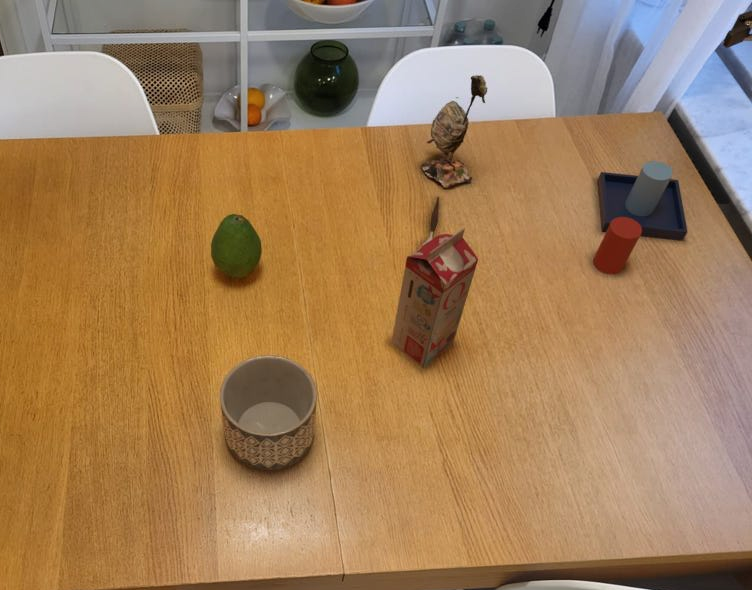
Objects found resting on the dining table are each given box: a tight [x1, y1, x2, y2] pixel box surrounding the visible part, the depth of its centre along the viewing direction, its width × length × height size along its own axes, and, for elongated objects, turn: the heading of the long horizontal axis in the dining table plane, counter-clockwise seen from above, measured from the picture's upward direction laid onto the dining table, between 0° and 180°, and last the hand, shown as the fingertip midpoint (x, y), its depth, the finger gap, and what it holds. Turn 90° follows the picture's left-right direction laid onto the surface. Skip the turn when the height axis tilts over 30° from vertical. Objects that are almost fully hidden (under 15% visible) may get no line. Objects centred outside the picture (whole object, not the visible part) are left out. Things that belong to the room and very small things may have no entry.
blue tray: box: [596, 171, 688, 241], centre depth 130 cm, size 13×13×2 cm
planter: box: [219, 354, 318, 471], centre depth 102 cm, size 13×13×10 cm
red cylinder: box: [592, 217, 642, 275], centre depth 121 cm, size 5×5×8 cm
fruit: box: [210, 213, 263, 279], centre depth 119 cm, size 8×8×12 cm
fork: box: [420, 196, 440, 247], centre depth 128 cm, size 3×16×2 cm, turn 166°
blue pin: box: [625, 160, 674, 217], centre depth 128 cm, size 5×5×8 cm
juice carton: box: [390, 227, 479, 369], centre depth 106 cm, size 7×7×22 cm
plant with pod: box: [420, 74, 489, 188], centre depth 130 cm, size 8×11×20 cm
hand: (750, 55), depth 109 cm, fingers open, 8 cm apart
